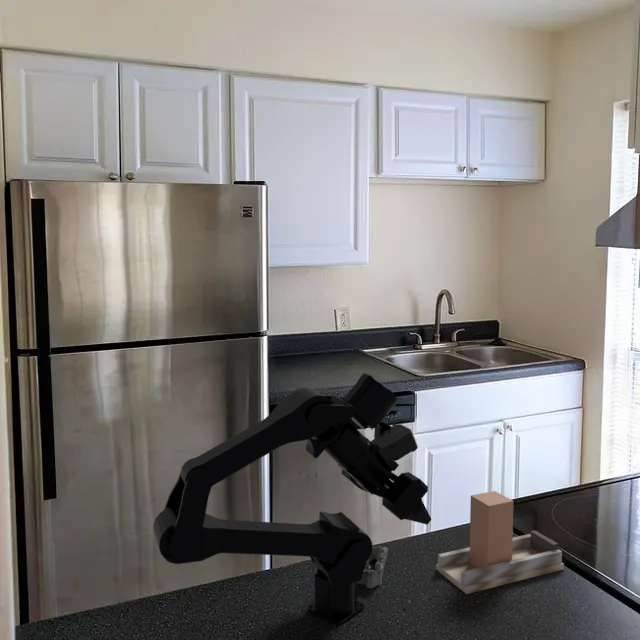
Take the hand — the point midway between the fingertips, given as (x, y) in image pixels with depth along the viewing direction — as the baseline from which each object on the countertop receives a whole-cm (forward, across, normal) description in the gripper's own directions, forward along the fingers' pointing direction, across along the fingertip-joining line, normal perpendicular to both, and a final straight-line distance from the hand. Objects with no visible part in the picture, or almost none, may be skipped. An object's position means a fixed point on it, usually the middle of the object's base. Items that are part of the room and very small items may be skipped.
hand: (413, 510), depth 106 cm
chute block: (+20, 0, -2) cm, 20 cm away
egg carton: (+7, +9, +13) cm, 17 cm away
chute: (+22, 0, -3) cm, 22 cm away
